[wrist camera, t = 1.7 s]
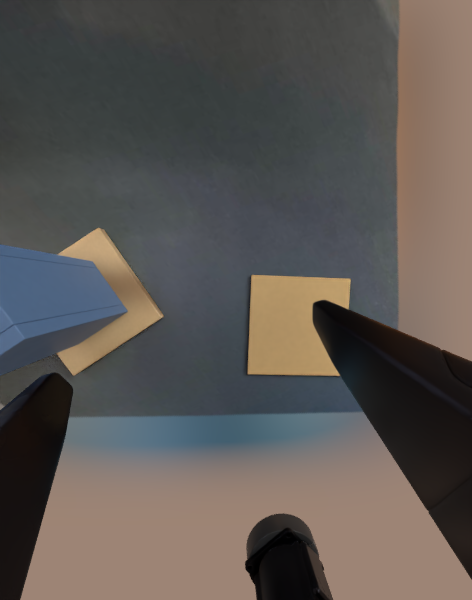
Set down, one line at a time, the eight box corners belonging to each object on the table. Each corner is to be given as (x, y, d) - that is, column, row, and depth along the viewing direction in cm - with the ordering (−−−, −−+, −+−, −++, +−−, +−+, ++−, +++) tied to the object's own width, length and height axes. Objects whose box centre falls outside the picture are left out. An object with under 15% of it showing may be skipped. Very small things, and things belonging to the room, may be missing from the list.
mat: (342, 374, 24) (344, 376, 23) (247, 373, 23) (247, 374, 23) (349, 278, 23) (350, 278, 23) (251, 275, 23) (251, 275, 22)
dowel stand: (164, 316, 22) (142, 327, 16) (80, 372, 22) (26, 404, 16) (104, 229, 22) (57, 208, 16) (16, 287, 22) (-64, 288, 16)
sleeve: (128, 311, 21) (24, 339, 10) (78, 344, 21) (-79, 407, 10) (92, 260, 21) (-56, 233, 10) (41, 294, 21) (-165, 304, 10)
